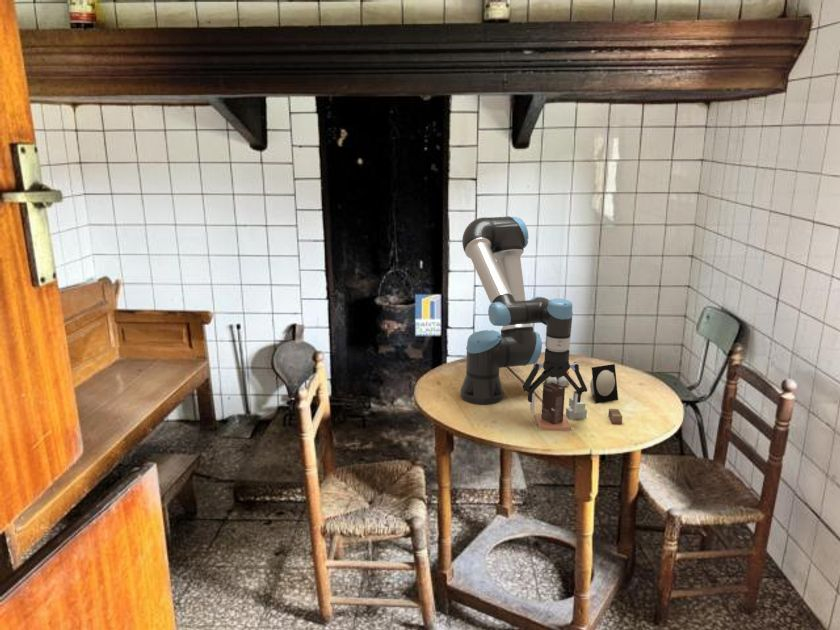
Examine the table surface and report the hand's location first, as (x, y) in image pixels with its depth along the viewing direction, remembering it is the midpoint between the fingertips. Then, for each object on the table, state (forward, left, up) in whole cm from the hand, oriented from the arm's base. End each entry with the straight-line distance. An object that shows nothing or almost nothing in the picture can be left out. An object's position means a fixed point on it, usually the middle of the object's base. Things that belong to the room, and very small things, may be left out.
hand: (553, 411), depth 205 cm
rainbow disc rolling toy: (+8, +36, -5) cm, 37 cm away
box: (0, 0, -3) cm, 3 cm away
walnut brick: (+21, +3, -4) cm, 22 cm away
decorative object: (+21, +22, -4) cm, 31 cm away
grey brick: (+9, +6, -4) cm, 11 cm away
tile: (0, 0, -4) cm, 4 cm away
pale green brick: (+9, +6, -1) cm, 11 cm away
